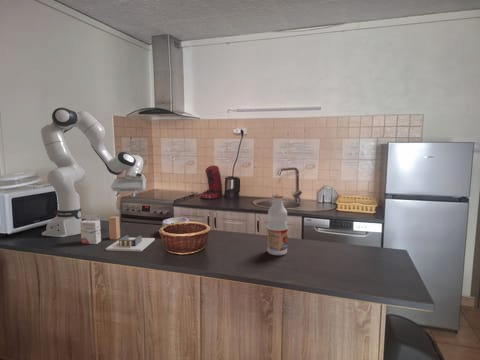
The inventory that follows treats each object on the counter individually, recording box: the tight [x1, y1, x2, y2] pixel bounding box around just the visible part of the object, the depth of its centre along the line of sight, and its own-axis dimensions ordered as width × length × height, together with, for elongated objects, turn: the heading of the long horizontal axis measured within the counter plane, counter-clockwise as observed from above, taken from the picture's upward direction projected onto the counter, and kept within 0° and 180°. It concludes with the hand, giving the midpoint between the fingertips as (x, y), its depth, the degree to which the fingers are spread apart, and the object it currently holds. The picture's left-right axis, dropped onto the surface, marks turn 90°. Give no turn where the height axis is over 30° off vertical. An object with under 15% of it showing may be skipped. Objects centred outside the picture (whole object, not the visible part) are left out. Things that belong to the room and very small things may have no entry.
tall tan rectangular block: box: [108, 215, 121, 241], centre depth 171 cm, size 4×4×12 cm
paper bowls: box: [161, 217, 190, 227], centre depth 181 cm, size 15×15×8 cm
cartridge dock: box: [105, 234, 156, 252], centre depth 161 cm, size 18×18×4 cm
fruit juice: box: [266, 193, 288, 256], centre depth 148 cm, size 9×9×28 cm
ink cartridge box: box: [80, 214, 102, 245], centre depth 164 cm, size 9×5×15 cm, turn 84°
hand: (125, 196), depth 184 cm, fingers open, 8 cm apart
